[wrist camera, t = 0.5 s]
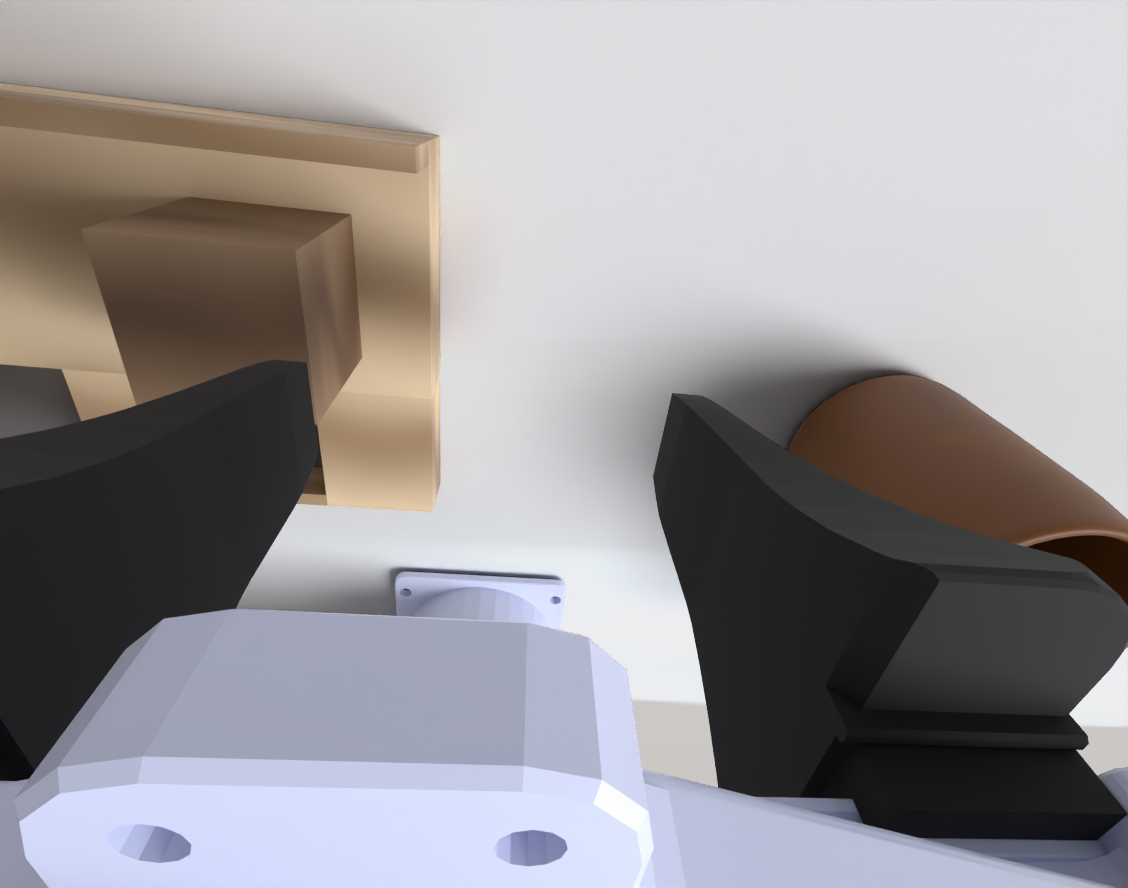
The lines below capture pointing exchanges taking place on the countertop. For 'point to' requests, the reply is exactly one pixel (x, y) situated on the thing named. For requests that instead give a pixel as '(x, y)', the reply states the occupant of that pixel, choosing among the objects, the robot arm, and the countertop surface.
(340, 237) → the walnut block
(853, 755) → the robot arm
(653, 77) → the countertop surface
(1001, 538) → the mug
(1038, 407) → the countertop surface
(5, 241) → the platform
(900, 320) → the countertop surface
